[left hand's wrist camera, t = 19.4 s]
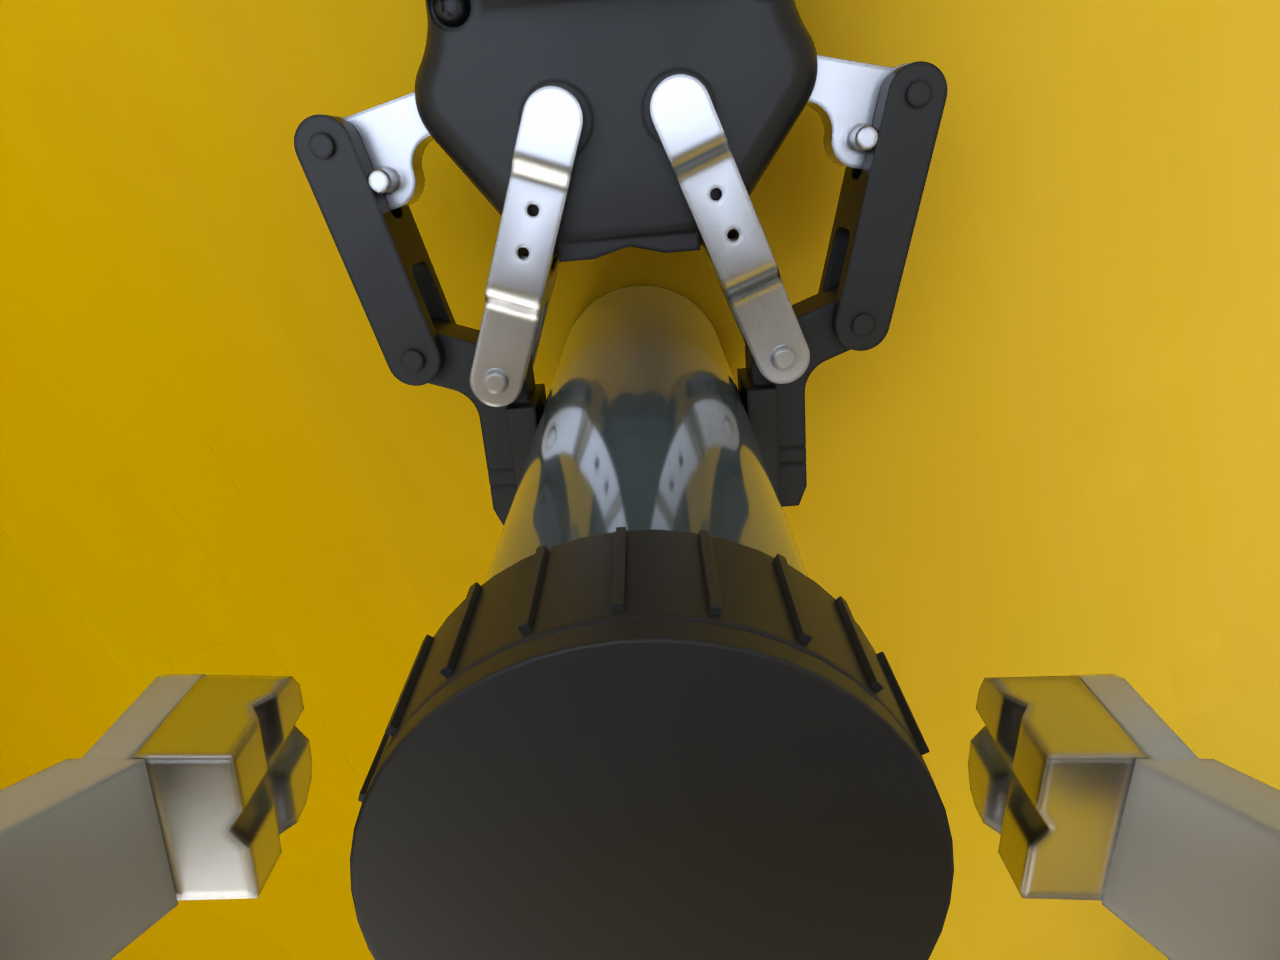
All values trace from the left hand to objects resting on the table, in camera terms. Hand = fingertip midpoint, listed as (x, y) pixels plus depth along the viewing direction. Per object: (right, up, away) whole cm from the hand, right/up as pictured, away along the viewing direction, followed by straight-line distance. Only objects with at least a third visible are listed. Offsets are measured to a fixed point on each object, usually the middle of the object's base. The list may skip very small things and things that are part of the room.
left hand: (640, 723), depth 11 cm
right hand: (0, +2, +12) cm, 12 cm away
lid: (0, -1, -2) cm, 2 cm away
